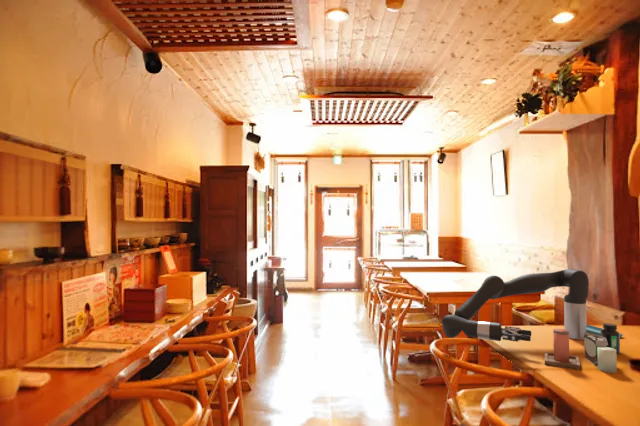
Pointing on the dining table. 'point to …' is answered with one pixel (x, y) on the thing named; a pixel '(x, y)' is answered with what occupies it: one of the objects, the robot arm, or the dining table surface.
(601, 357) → the sage tin
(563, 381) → the dining table surface
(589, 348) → the food container
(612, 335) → the supplement bottle
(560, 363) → the tray
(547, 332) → the dining table surface
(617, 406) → the dining table surface
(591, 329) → the shallow long dish
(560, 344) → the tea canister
